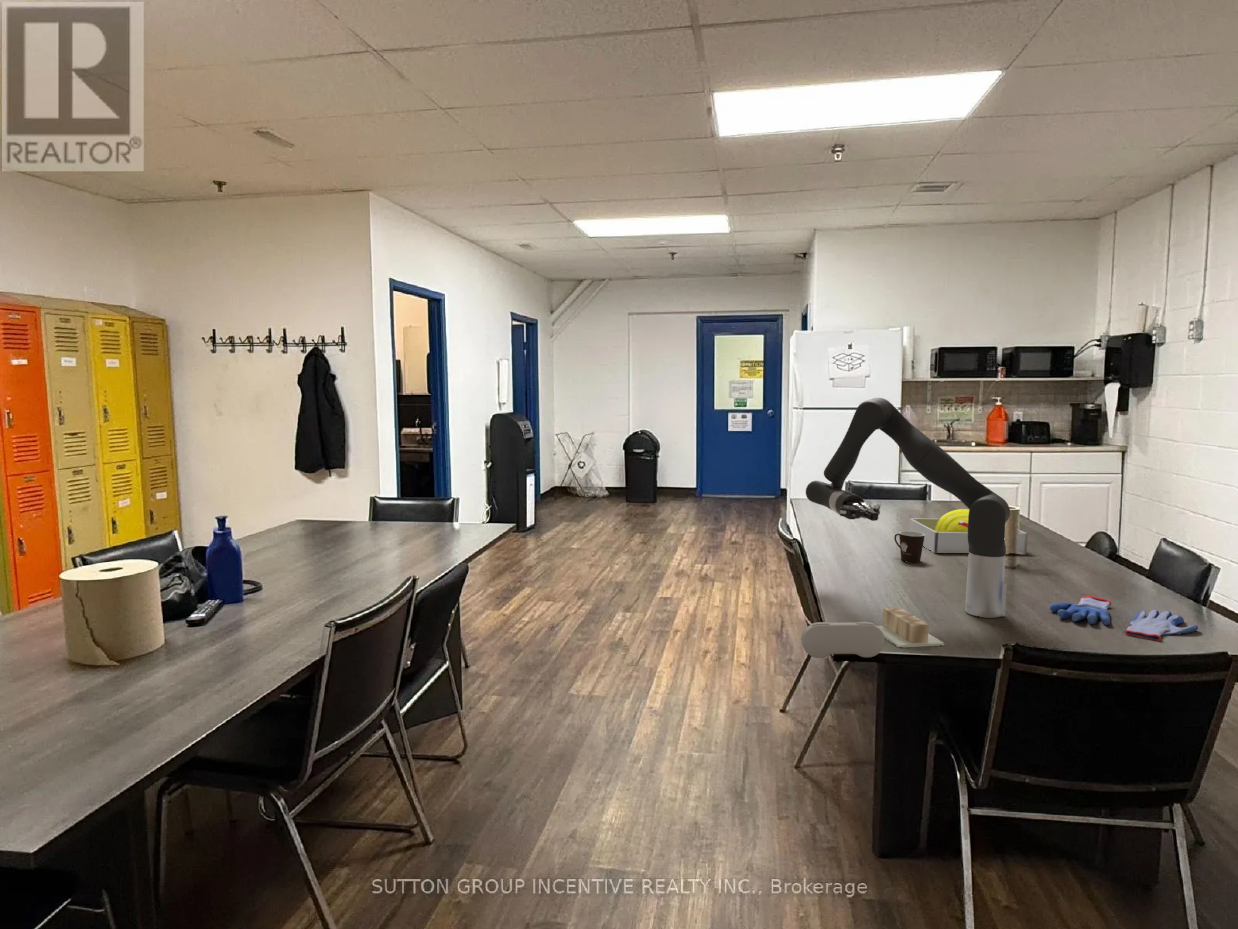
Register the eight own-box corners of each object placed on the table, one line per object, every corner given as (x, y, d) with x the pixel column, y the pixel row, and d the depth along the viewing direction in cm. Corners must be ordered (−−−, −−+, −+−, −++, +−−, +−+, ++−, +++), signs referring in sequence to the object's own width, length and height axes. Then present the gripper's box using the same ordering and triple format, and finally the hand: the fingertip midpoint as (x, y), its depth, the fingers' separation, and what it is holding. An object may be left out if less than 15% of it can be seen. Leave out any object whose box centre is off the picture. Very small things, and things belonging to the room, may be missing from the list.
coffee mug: (927, 564, 262) (928, 536, 261) (902, 563, 263) (904, 536, 261) (914, 556, 274) (916, 529, 273) (891, 555, 274) (892, 529, 273)
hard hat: (920, 539, 302) (922, 503, 301) (990, 544, 295) (992, 507, 293) (924, 550, 283) (926, 512, 282) (999, 555, 276) (1001, 516, 274)
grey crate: (991, 538, 304) (992, 519, 303) (1026, 554, 277) (1027, 533, 276) (907, 537, 306) (908, 518, 305) (934, 553, 278) (935, 532, 277)
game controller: (880, 654, 177) (882, 620, 176) (884, 658, 175) (885, 624, 174) (799, 655, 177) (801, 621, 176) (802, 658, 174) (803, 624, 174)
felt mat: (871, 628, 195) (871, 626, 195) (913, 626, 197) (913, 624, 196) (898, 647, 181) (898, 645, 181) (943, 645, 183) (943, 643, 183)
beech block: (899, 607, 196) (928, 624, 183) (898, 623, 197) (927, 642, 183) (883, 608, 196) (911, 625, 182) (882, 624, 196) (910, 643, 183)
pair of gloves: (1203, 626, 199) (1205, 613, 198) (1183, 650, 181) (1184, 635, 181) (1070, 600, 222) (1071, 588, 222) (1041, 618, 205) (1042, 606, 204)
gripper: (825, 493, 220) (853, 505, 203) (867, 490, 222) (897, 502, 205) (825, 517, 221) (852, 531, 204) (866, 514, 223) (897, 528, 207)
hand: (875, 517), depth 205 cm, fingers closed
